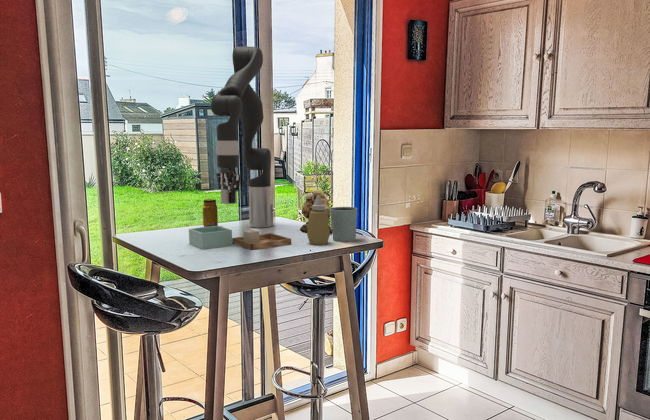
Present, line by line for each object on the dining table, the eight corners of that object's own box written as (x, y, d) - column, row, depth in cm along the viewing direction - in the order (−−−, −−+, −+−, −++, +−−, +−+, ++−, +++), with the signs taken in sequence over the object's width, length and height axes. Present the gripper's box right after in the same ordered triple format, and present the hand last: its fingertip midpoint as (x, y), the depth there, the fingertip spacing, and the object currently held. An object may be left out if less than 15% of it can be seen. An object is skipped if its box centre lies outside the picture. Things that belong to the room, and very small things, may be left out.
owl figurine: (291, 229, 228) (291, 188, 225) (315, 227, 234) (315, 187, 232) (315, 236, 213) (315, 192, 211) (340, 233, 219) (340, 190, 217)
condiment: (203, 226, 235) (202, 198, 233) (223, 226, 236) (222, 198, 235) (201, 229, 228) (201, 200, 226) (222, 228, 229) (221, 200, 228)
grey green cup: (355, 243, 200) (355, 210, 198) (328, 242, 201) (328, 209, 200) (358, 237, 210) (358, 206, 208) (332, 236, 211) (332, 206, 210)
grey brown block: (231, 202, 196) (230, 188, 196) (236, 203, 193) (236, 189, 193) (221, 203, 194) (220, 188, 193) (226, 204, 191) (226, 189, 190)
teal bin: (218, 241, 202) (217, 225, 201) (232, 246, 193) (231, 230, 192) (189, 245, 195) (188, 228, 195) (202, 250, 187) (201, 233, 186)
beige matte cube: (252, 243, 195) (252, 229, 195) (259, 245, 193) (259, 231, 192) (243, 245, 193) (243, 231, 192) (250, 247, 190) (250, 232, 189)
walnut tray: (271, 239, 205) (270, 233, 205) (291, 246, 194) (291, 238, 194) (232, 245, 196) (232, 237, 196) (251, 251, 185) (251, 244, 184)
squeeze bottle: (303, 246, 194) (303, 195, 191) (312, 242, 201) (311, 193, 199) (325, 247, 191) (325, 196, 189) (332, 243, 199) (333, 194, 196)
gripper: (247, 154, 188) (248, 203, 190) (227, 153, 199) (228, 200, 201) (227, 154, 183) (229, 205, 186) (208, 153, 194) (209, 201, 197)
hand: (228, 202), depth 194 cm, fingers closed on grey brown block, 4 cm apart
